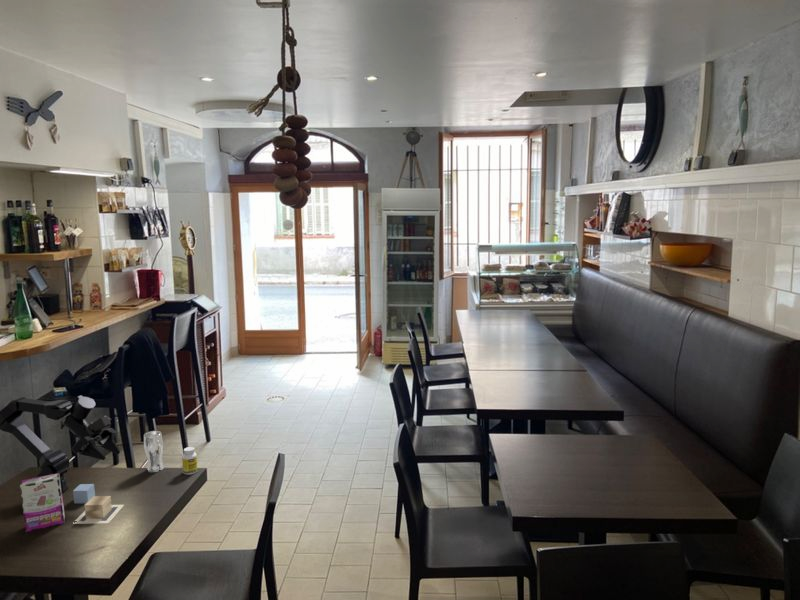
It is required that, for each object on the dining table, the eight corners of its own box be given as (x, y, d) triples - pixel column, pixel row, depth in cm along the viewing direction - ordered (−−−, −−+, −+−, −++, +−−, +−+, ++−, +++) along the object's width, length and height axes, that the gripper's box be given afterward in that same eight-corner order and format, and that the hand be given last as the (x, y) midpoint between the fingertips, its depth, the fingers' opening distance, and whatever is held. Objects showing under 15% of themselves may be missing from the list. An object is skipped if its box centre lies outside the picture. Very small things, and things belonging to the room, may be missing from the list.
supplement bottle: (189, 476, 229) (187, 452, 227) (180, 473, 232) (178, 449, 230) (200, 470, 233) (199, 447, 232) (191, 467, 236) (189, 444, 234)
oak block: (85, 518, 199) (84, 505, 198) (94, 509, 204) (93, 496, 204) (103, 518, 199) (102, 504, 198) (111, 509, 205) (110, 495, 204)
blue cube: (74, 503, 209) (72, 490, 208) (81, 496, 214) (80, 484, 213) (88, 503, 209) (86, 490, 208) (95, 496, 214) (94, 483, 213)
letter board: (72, 523, 196) (72, 523, 196) (90, 505, 207) (90, 505, 207) (108, 523, 196) (108, 523, 196) (124, 504, 208) (124, 504, 208)
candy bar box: (65, 516, 200) (60, 472, 197) (64, 523, 196) (59, 478, 193) (26, 525, 195) (21, 479, 192) (25, 532, 191) (19, 486, 188)
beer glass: (142, 470, 234) (139, 435, 231) (156, 463, 240) (153, 429, 237) (154, 474, 231) (151, 438, 228) (168, 467, 237) (165, 432, 234)
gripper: (78, 414, 200) (111, 444, 198) (109, 406, 218) (139, 433, 217) (58, 439, 200) (91, 469, 199) (90, 429, 218) (120, 456, 217)
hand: (112, 456), depth 208 cm, fingers open, 9 cm apart
